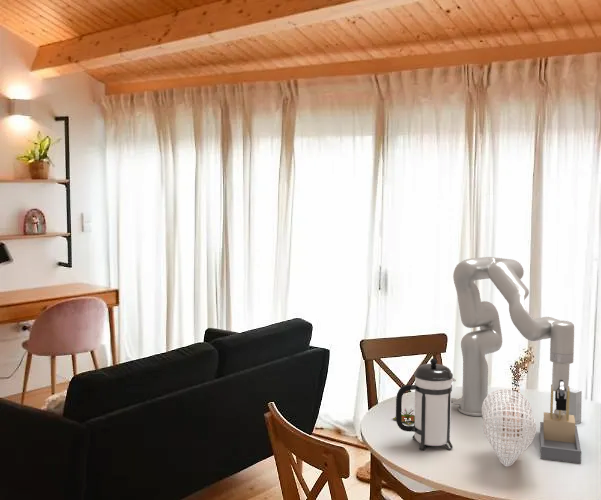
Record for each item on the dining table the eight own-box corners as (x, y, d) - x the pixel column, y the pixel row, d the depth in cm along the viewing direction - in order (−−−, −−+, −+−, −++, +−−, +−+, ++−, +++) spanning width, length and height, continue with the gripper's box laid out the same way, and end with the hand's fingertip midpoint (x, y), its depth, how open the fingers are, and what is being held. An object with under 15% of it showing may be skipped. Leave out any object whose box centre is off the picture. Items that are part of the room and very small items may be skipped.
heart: (480, 446, 230) (481, 382, 228) (527, 450, 226) (530, 385, 224) (482, 481, 203) (484, 409, 200) (537, 487, 199) (539, 413, 197)
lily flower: (385, 420, 256) (385, 408, 256) (406, 413, 264) (406, 401, 264) (409, 429, 247) (409, 417, 247) (430, 421, 255) (430, 409, 254)
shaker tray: (540, 458, 220) (541, 434, 219) (539, 432, 242) (540, 411, 241) (580, 463, 216) (581, 439, 215) (576, 436, 238) (577, 414, 238)
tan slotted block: (550, 419, 233) (551, 389, 232) (550, 413, 238) (551, 384, 237) (568, 421, 231) (569, 390, 230) (567, 415, 237) (568, 386, 236)
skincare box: (581, 422, 253) (583, 390, 252) (575, 424, 250) (576, 392, 249) (566, 417, 258) (567, 386, 256) (559, 420, 255) (561, 389, 253)
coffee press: (424, 432, 243) (425, 350, 240) (462, 444, 232) (465, 358, 229) (394, 445, 231) (395, 359, 228) (433, 459, 219) (435, 368, 216)
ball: (554, 418, 234) (554, 408, 233) (553, 415, 237) (554, 405, 237) (564, 419, 233) (565, 410, 232) (564, 416, 236) (564, 406, 235)
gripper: (549, 350, 242) (548, 397, 243) (550, 362, 226) (549, 412, 227) (572, 352, 239) (570, 399, 241) (574, 364, 223) (573, 414, 225)
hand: (560, 405), depth 234 cm, fingers open, 9 cm apart
